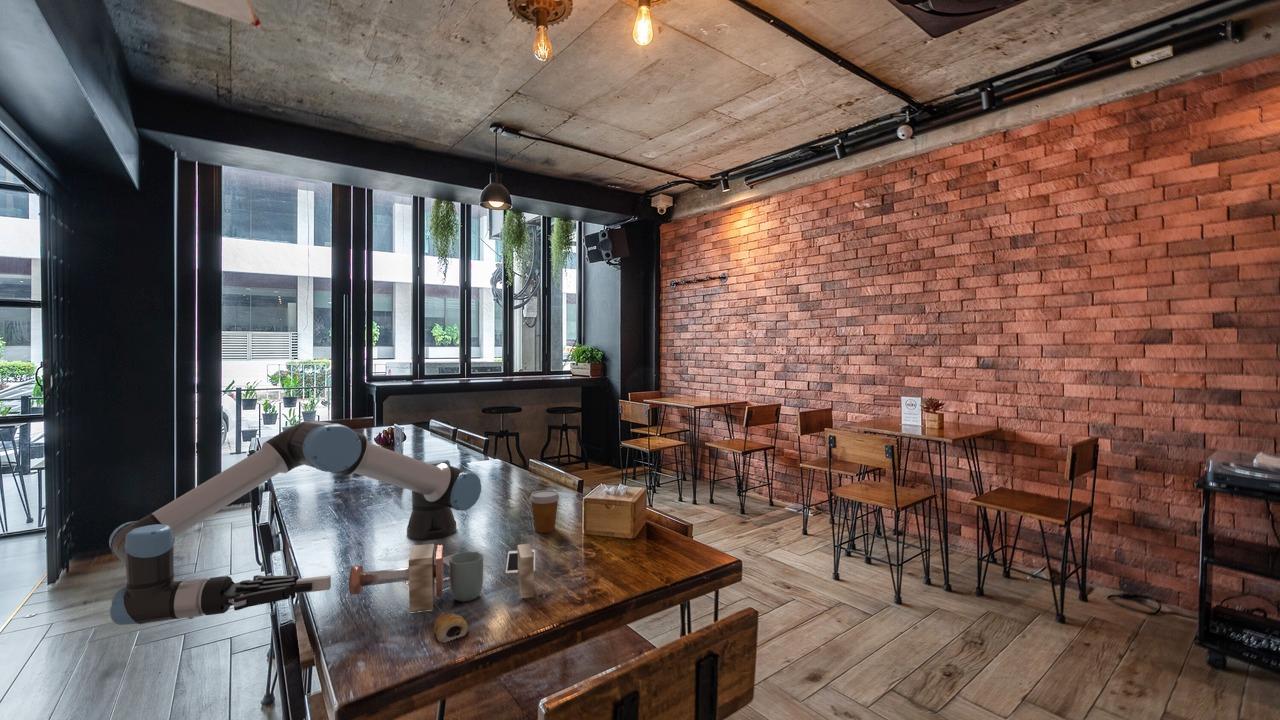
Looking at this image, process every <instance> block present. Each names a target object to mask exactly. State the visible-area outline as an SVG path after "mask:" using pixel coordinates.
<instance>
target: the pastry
mask: <svg viewBox="0 0 1280 720" xmlns="http://www.w3.org/2000/svg"><path fill="white" fill-rule="evenodd" d="M433 623H434V624H433V629H432V630H433V633H435V636H436V640H437V641H438V642H439V643H440V642H443V641H449V642H451V641H450V640H452V641H455V640H457V639H460V637H461V638H463V637H465V636H466V635H467V633H468V632H469V625H468V622H467V621H466V620H465V619H464V617H463V615H458V614H457V613H451V612H450V613H441V614H440V615H438V617H437V618H435V620H434V622H433ZM456 638H457V639H456ZM454 639H455V640H454Z"/></svg>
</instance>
